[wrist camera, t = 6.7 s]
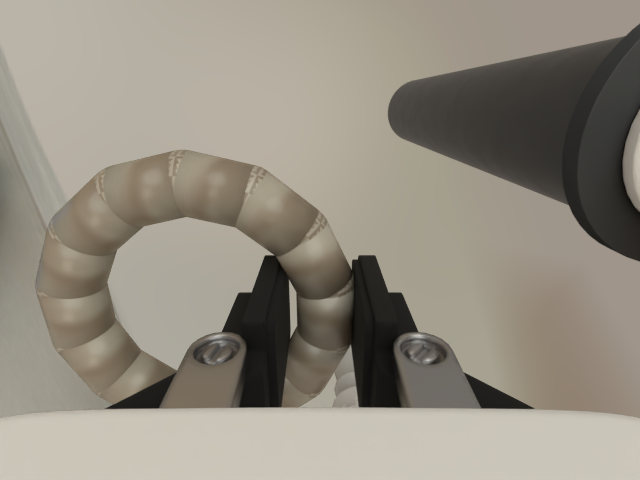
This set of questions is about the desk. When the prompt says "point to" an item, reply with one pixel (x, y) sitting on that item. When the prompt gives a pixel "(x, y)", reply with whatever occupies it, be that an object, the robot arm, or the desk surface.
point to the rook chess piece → (346, 383)
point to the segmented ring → (204, 204)
